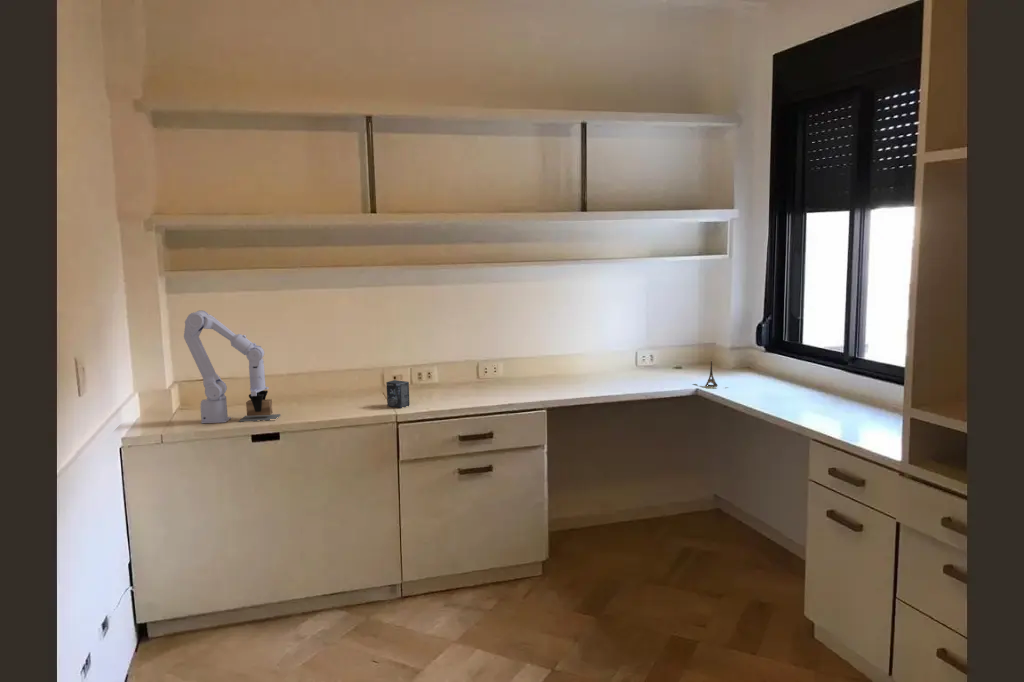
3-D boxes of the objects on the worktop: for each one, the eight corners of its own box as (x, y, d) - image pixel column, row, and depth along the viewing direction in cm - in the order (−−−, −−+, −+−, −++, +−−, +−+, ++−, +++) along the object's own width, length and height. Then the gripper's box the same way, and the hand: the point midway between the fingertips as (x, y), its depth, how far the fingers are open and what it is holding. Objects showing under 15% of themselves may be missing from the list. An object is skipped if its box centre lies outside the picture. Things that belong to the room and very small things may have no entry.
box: (387, 406, 321) (385, 382, 319) (396, 404, 325) (395, 379, 324) (401, 408, 316) (399, 383, 315) (410, 406, 321) (409, 381, 320)
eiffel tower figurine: (690, 385, 354) (691, 356, 352) (709, 383, 357) (709, 355, 356) (710, 390, 340) (711, 361, 338) (729, 388, 344) (729, 359, 342)
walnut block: (270, 414, 302) (269, 401, 301) (247, 415, 301) (246, 402, 301) (272, 412, 306) (271, 399, 305) (249, 413, 305) (248, 400, 305)
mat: (239, 422, 299) (239, 420, 299) (245, 416, 308) (245, 415, 308) (275, 420, 300) (275, 419, 300) (280, 415, 309) (280, 414, 309)
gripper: (263, 379, 295) (265, 414, 297) (271, 373, 309) (273, 405, 311) (244, 380, 294) (246, 414, 296) (254, 373, 309) (256, 406, 310)
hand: (259, 410), depth 304 cm, fingers closed on walnut block, 4 cm apart
